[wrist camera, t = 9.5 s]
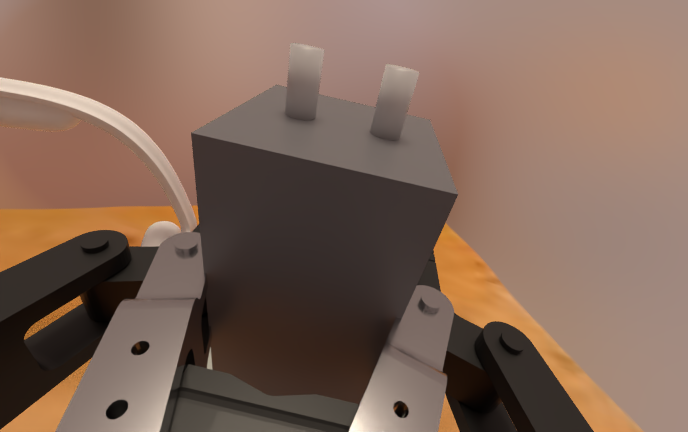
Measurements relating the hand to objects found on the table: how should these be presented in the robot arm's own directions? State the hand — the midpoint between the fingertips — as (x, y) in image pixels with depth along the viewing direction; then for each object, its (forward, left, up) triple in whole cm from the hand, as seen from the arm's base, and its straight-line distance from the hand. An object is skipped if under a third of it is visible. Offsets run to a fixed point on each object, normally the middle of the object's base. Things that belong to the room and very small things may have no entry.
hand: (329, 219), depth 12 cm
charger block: (+1, -3, -6) cm, 7 cm away
